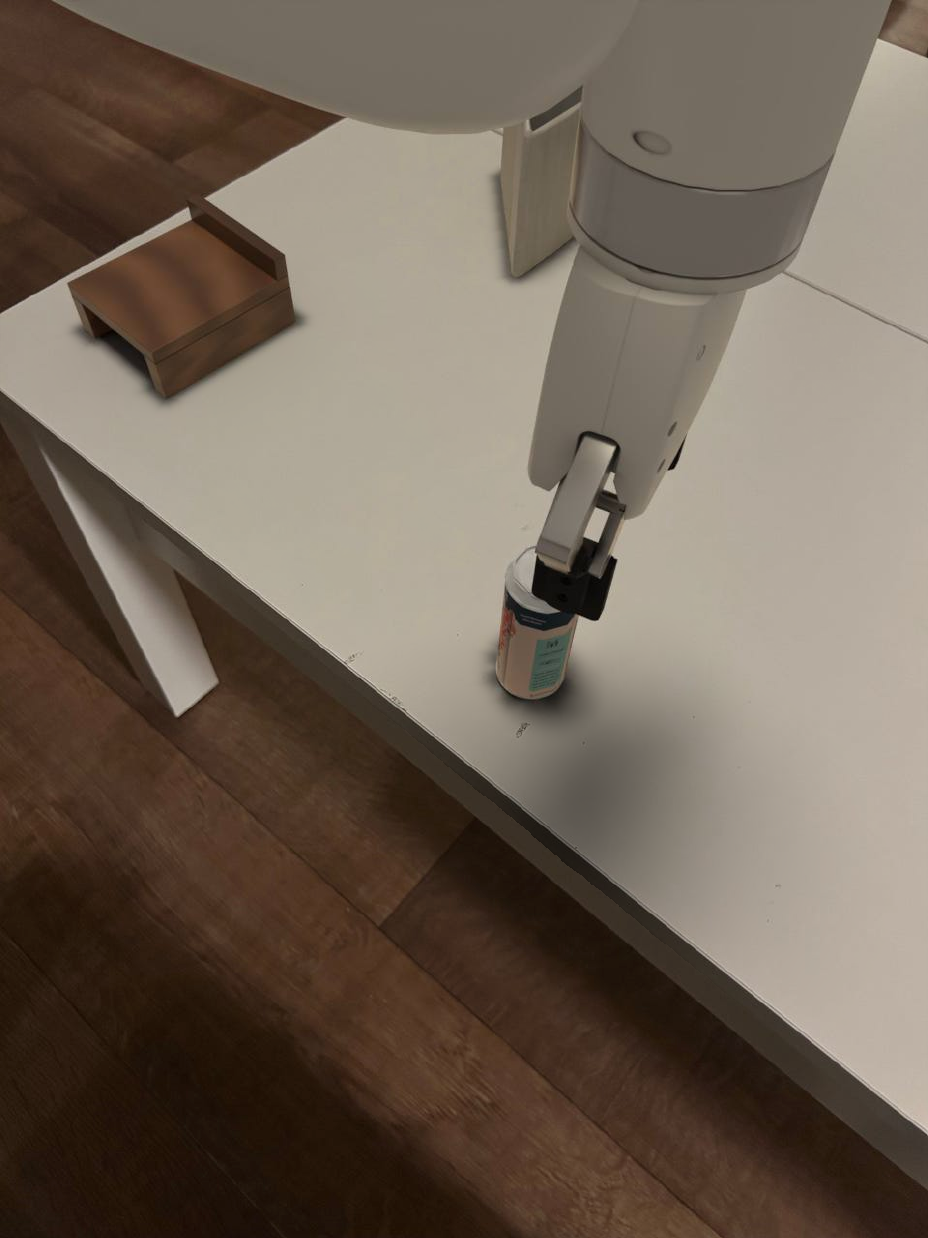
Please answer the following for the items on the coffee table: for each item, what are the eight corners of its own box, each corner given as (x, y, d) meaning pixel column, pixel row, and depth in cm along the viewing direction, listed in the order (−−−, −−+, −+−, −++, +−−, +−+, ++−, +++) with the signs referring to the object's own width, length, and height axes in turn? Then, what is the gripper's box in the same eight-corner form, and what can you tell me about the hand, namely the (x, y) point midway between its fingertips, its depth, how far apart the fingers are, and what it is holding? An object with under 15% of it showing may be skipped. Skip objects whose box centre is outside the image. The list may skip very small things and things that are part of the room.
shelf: (166, 399, 78) (144, 332, 72) (85, 330, 82) (58, 261, 76) (295, 322, 84) (285, 254, 78) (213, 261, 88) (197, 192, 82)
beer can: (520, 631, 66) (535, 524, 56) (577, 666, 65) (603, 562, 55) (481, 678, 64) (490, 576, 54) (539, 715, 63) (559, 617, 53)
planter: (595, 277, 88) (632, 63, 72) (511, 278, 88) (529, 63, 72) (575, 177, 97) (604, -33, 81) (499, 178, 97) (512, -34, 80)
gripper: (672, 28, 34) (601, 384, 48) (460, 300, 25) (450, 636, 40) (877, 81, 32) (741, 434, 47) (724, 392, 24) (615, 708, 38)
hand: (607, 526), depth 43 cm, fingers open, 9 cm apart
